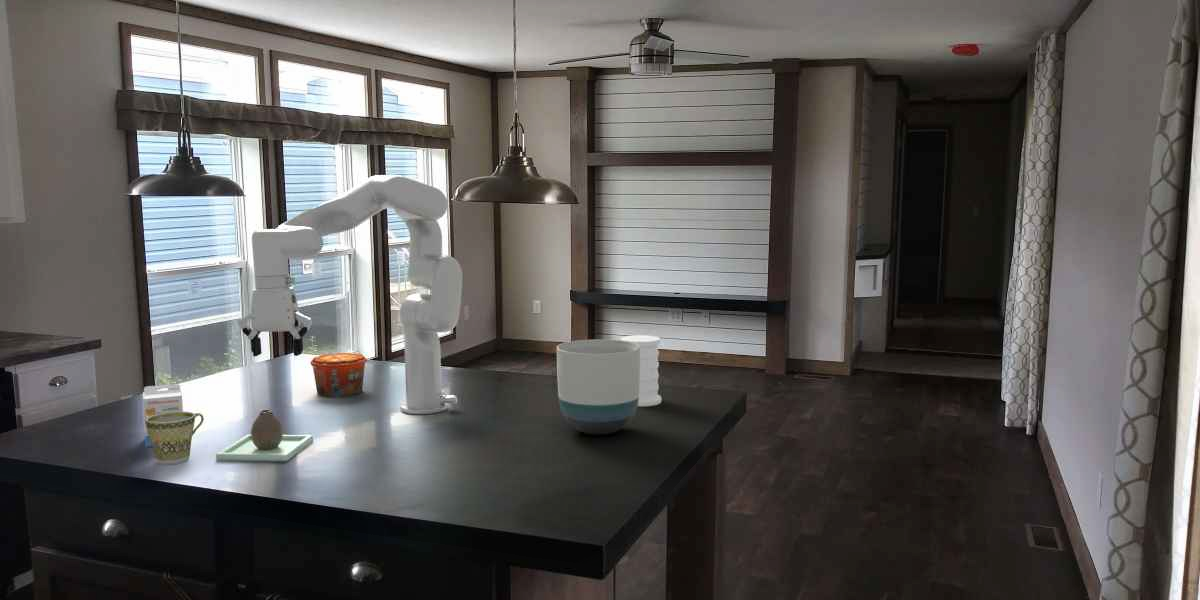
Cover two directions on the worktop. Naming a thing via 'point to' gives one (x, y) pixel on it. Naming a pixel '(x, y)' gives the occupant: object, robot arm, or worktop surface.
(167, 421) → the ceramic cup
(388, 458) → the worktop surface
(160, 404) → the ink box
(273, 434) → the vase
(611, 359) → the planter
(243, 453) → the tray
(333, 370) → the food container
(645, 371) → the decorative container
